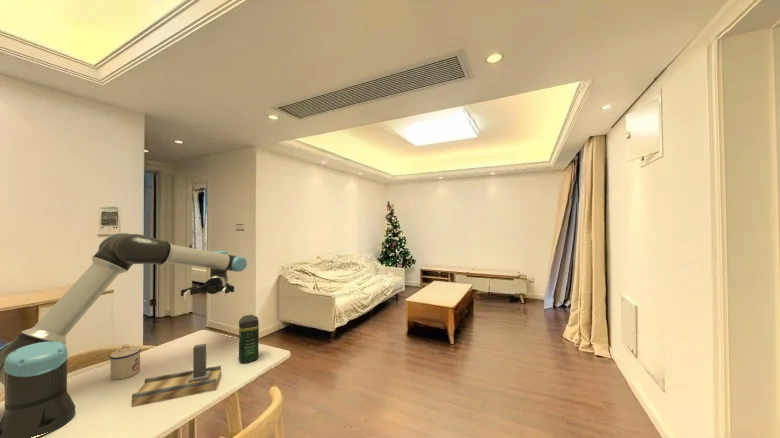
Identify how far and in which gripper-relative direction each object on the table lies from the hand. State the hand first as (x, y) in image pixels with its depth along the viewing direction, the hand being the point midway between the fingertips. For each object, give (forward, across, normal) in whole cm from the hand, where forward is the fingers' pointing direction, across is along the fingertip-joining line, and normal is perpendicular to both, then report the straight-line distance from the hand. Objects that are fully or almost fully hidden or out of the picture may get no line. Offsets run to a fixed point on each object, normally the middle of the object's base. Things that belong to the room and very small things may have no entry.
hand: (204, 295), depth 118 cm
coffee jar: (-2, -17, -30) cm, 35 cm away
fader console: (+14, +4, -30) cm, 34 cm away
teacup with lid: (-8, +28, -31) cm, 42 cm away
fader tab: (+14, -2, -28) cm, 31 cm away
